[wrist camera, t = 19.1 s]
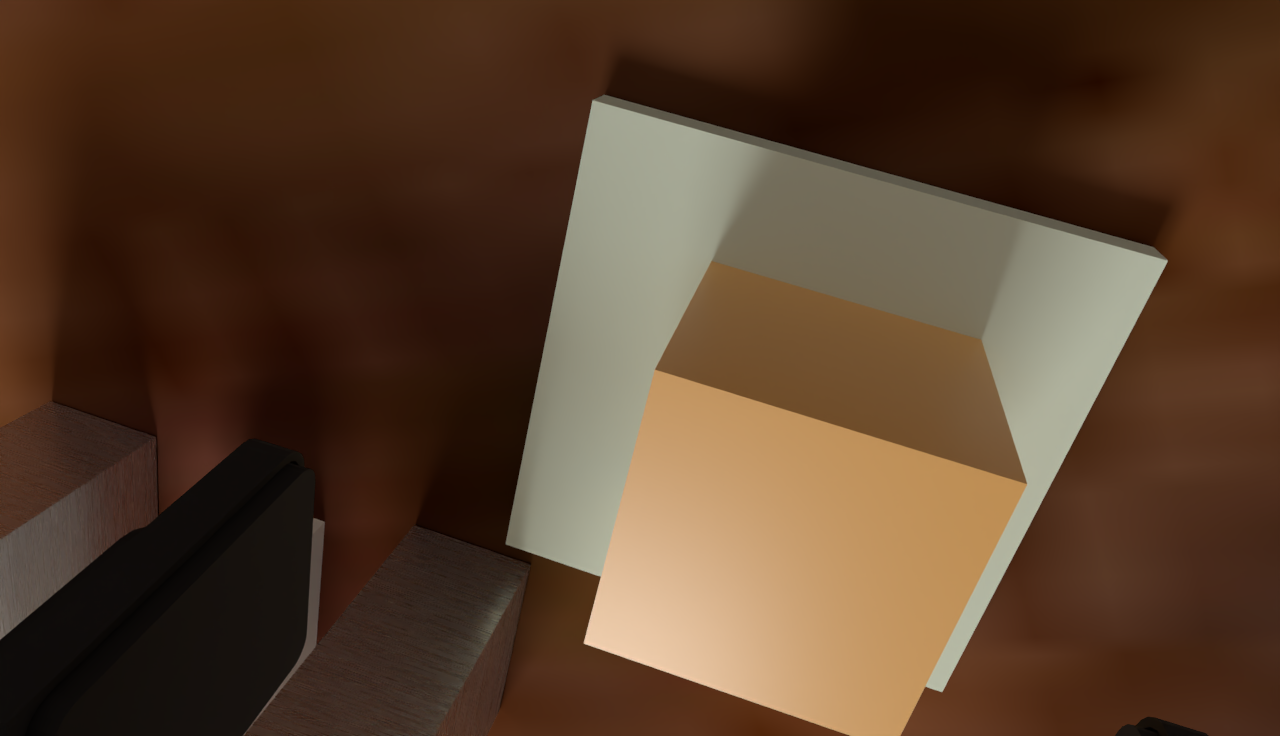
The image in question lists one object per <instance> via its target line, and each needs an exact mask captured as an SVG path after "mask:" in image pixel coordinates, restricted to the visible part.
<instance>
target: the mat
mask: <svg viewBox="0 0 1280 736" xmlns="http://www.w3.org/2000/svg"><path fill="white" fill-rule="evenodd" d="M711 261H713V262H717V263H720V264H724V265H727V266H730V267H734V268H737V269H741V270H744V271H748V272H751V273H754V274H758V275H761V276H765V277H768V278H772V279H775V280H778V281H782V282H785V283H789V284H792V285H796V286H799V287H802V288H806V289H809V290H813V291H816V292H820V293H823V294H826V295H830V296H833V297H837V298H840V299H843V300H847V301H850V302H854V303H857V304H861V305H864V306H867V307H871V308H874V309H878V310H881V311H885V312H888V313H891V314H895V315H898V316H902V317H905V318H909V319H912V320H915V321H919V322H922V323H926V324H929V325H933V326H936V327H939V328H943V329H946V330H950V331H953V332H956V333H960V334H963V335H967V336H970V337H974V338H977V339H980V340H982V343H983V346H984V350H985V353H986V356H987V359H988V362H989V365H990V368H991V372H992V375H993V378H994V381H995V384H996V387H997V390H998V394H999V397H1000V400H1001V403H1002V406H1003V409H1004V412H1005V416H1006V419H1007V422H1008V425H1009V428H1010V431H1011V434H1012V438H1013V441H1014V444H1015V447H1016V450H1017V453H1018V456H1019V459H1020V463H1021V466H1022V469H1023V472H1024V475H1025V478H1026V481H1027V486H1026V488H1025V490H1024V492H1023V494H1022V496H1021V498H1020V500H1019V502H1018V504H1017V506H1016V508H1015V510H1014V512H1013V514H1012V516H1011V518H1010V520H1009V522H1008V524H1007V526H1006V528H1005V530H1004V532H1003V534H1002V536H1001V537H1000V539H999V541H998V543H997V545H996V547H995V549H994V551H993V553H992V555H991V557H990V559H989V561H988V563H987V565H986V567H985V569H984V571H983V573H982V575H981V577H980V579H979V581H978V583H977V585H976V587H975V589H974V591H973V593H972V595H971V597H970V599H969V601H968V603H967V605H966V607H965V609H964V611H963V613H962V615H961V617H960V619H959V621H958V623H957V625H956V626H955V628H954V630H953V632H952V634H951V636H950V638H949V640H948V642H947V644H946V646H945V648H944V650H943V652H942V654H941V656H940V658H939V660H938V662H937V664H936V666H935V668H934V670H933V672H932V674H931V676H930V678H929V680H928V682H927V684H926V686H925V687H928V688H931V689H934V690H937V691H940V692H942V691H943V689H944V687H945V686H946V684H947V682H948V680H949V678H950V676H951V674H952V672H953V670H954V668H955V666H956V665H957V663H958V661H959V659H960V657H961V655H962V653H963V651H964V649H965V647H966V645H967V644H968V642H969V640H970V638H971V636H972V634H973V632H974V630H975V628H976V626H977V624H978V623H979V621H980V619H981V617H982V615H983V613H984V611H985V609H986V607H987V605H988V603H989V602H990V600H991V598H992V596H993V594H994V592H995V590H996V588H997V586H998V584H999V582H1000V581H1001V579H1002V577H1003V575H1004V573H1005V571H1006V569H1007V567H1008V565H1009V563H1010V561H1011V560H1012V558H1013V556H1014V554H1015V552H1016V550H1017V548H1018V546H1019V544H1020V542H1021V540H1022V539H1023V537H1024V535H1025V533H1026V531H1027V529H1028V527H1029V525H1030V523H1031V521H1032V519H1033V518H1034V516H1035V514H1036V512H1037V510H1038V508H1039V506H1040V504H1041V502H1042V500H1043V498H1044V497H1045V495H1046V493H1047V491H1048V489H1049V487H1050V485H1051V483H1052V481H1053V479H1054V477H1055V475H1056V474H1057V472H1058V470H1059V468H1060V466H1061V464H1062V462H1063V460H1064V458H1065V456H1066V454H1067V453H1068V451H1069V449H1070V447H1071V445H1072V443H1073V441H1074V439H1075V437H1076V435H1077V433H1078V432H1079V430H1080V428H1081V426H1082V424H1083V422H1084V420H1085V418H1086V416H1087V414H1088V412H1089V411H1090V409H1091V407H1092V405H1093V403H1094V401H1095V399H1096V397H1097V395H1098V393H1099V391H1100V390H1101V388H1102V386H1103V384H1104V382H1105V380H1106V378H1107V376H1108V374H1109V372H1110V370H1111V369H1112V367H1113V365H1114V363H1115V361H1116V359H1117V357H1118V355H1119V353H1120V351H1121V349H1122V348H1123V346H1124V344H1125V342H1126V340H1127V338H1128V336H1129V334H1130V332H1131V330H1132V328H1133V327H1134V325H1135V323H1136V321H1137V319H1138V317H1139V315H1140V313H1141V311H1142V309H1143V307H1144V306H1145V304H1146V302H1147V300H1148V298H1149V296H1150V294H1151V292H1152V290H1153V288H1154V286H1155V285H1156V283H1157V281H1158V279H1159V277H1160V275H1161V273H1162V271H1163V269H1164V267H1165V265H1166V264H1167V262H1168V260H1167V259H1166V258H1165V257H1164V256H1162V255H1161V254H1160V253H1159V252H1158V251H1157V250H1156V249H1155V248H1154V247H1151V246H1148V245H1144V244H1140V243H1137V242H1133V241H1130V240H1126V239H1122V238H1119V237H1115V236H1112V235H1108V234H1104V233H1101V232H1097V231H1094V230H1090V229H1086V228H1083V227H1079V226H1076V225H1072V224H1068V223H1065V222H1061V221H1058V220H1054V219H1050V218H1047V217H1043V216H1040V215H1036V214H1032V213H1029V212H1025V211H1022V210H1018V209H1014V208H1011V207H1007V206H1004V205H1000V204H996V203H993V202H989V201H986V200H982V199H978V198H975V197H971V196H968V195H964V194H960V193H957V192H953V191H950V190H946V189H942V188H939V187H935V186H932V185H928V184H924V183H921V182H917V181H914V180H910V179H906V178H903V177H899V176H895V175H892V174H888V173H885V172H881V171H877V170H874V169H870V168H867V167H863V166H859V165H856V164H852V163H849V162H845V161H841V160H838V159H834V158H831V157H827V156H823V155H820V154H816V153H813V152H809V151H805V150H802V149H798V148H795V147H791V146H787V145H784V144H780V143H777V142H773V141H769V140H766V139H762V138H759V137H755V136H751V135H748V134H744V133H741V132H737V131H733V130H730V129H726V128H723V127H719V126H715V125H712V124H708V123H705V122H701V121H697V120H694V119H690V118H687V117H683V116H679V115H676V114H672V113H669V112H665V111H661V110H658V109H654V108H651V107H647V106H643V105H640V104H636V103H633V102H629V101H625V100H622V99H618V98H615V97H611V96H607V95H603V96H601V97H598V98H596V99H594V100H593V101H592V106H591V111H590V116H589V121H588V126H587V131H586V136H585V142H584V147H583V152H582V157H581V162H580V167H579V172H578V177H577V182H576V187H575V192H574V198H573V203H572V208H571V213H570V218H569V223H568V228H567V233H566V238H565V243H564V248H563V254H562V259H561V264H560V269H559V274H558V279H557V284H556V289H555V294H554V299H553V304H552V310H551V315H550V320H549V325H548V330H547V335H546V340H545V345H544V350H543V355H542V360H541V366H540V371H539V376H538V381H537V386H536V391H535V396H534V401H533V406H532V411H531V416H530V422H529V427H528V432H527V437H526V442H525V447H524V452H523V457H522V462H521V467H520V472H519V478H518V483H517V488H516V493H515V498H514V503H513V508H512V513H511V518H510V523H509V528H508V534H507V539H506V545H509V546H512V547H515V548H518V549H521V550H524V551H527V552H530V553H533V554H536V555H539V556H542V557H545V558H547V559H550V560H553V561H556V562H559V563H562V564H565V565H568V566H571V567H574V568H577V569H580V570H583V571H586V572H589V573H592V574H595V575H598V576H601V575H602V571H603V567H604V563H605V560H606V556H607V552H608V548H609V544H610V540H611V536H612V533H613V529H614V525H615V521H616V517H617V513H618V509H619V506H620V502H621V498H622V494H623V490H624V486H625V482H626V479H627V475H628V471H629V467H630V463H631V459H632V455H633V452H634V448H635V444H636V440H637V436H638V432H639V428H640V425H641V421H642V417H643V413H644V409H645V405H646V401H647V398H648V394H649V390H650V386H651V382H652V378H653V375H654V371H655V368H656V366H657V364H658V362H659V361H660V359H661V357H662V355H663V353H664V351H665V349H666V347H667V345H668V343H669V341H670V339H671V338H672V336H673V334H674V332H675V330H676V328H677V326H678V324H679V322H680V320H681V318H682V317H683V315H684V313H685V311H686V309H687V307H688V305H689V303H690V301H691V299H692V297H693V295H694V294H695V292H696V290H697V288H698V286H699V284H700V282H701V280H702V278H703V276H704V274H705V273H706V271H707V269H708V267H709V265H710V263H711Z"/></svg>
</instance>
